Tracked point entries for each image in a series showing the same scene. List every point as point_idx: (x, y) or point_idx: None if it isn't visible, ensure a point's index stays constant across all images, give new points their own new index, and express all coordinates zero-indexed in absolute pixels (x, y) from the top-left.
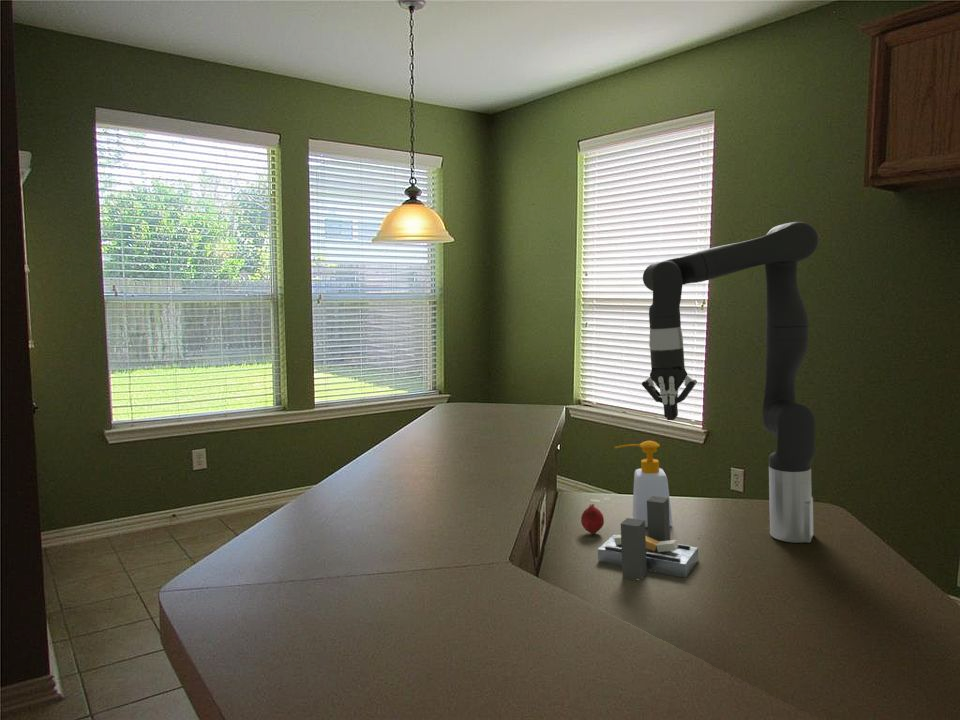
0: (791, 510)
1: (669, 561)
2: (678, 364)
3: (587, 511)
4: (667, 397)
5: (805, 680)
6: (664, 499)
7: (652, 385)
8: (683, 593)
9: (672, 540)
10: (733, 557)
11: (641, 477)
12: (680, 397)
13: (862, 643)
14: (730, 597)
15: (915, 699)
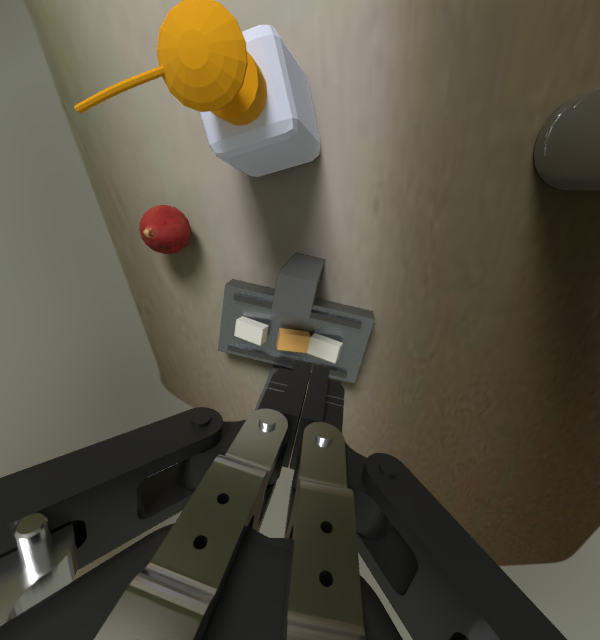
0: None
1: (331, 377)
2: None
3: (149, 245)
4: (266, 506)
5: None
6: (308, 295)
7: (74, 572)
8: (352, 414)
9: (333, 347)
10: (433, 287)
11: (224, 154)
12: (372, 546)
13: (539, 487)
14: (411, 415)
15: (544, 553)
